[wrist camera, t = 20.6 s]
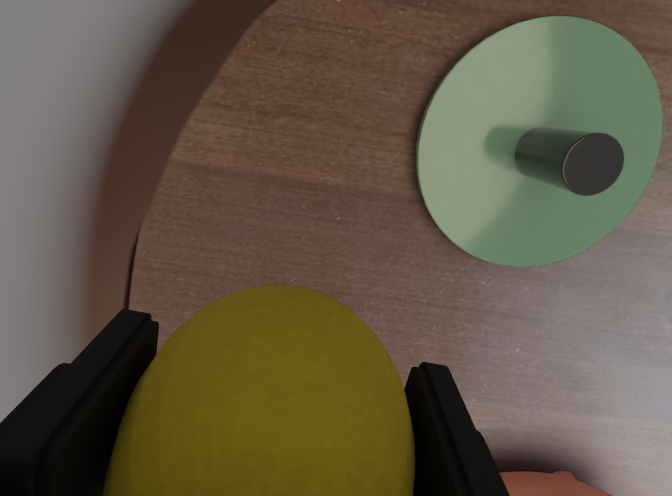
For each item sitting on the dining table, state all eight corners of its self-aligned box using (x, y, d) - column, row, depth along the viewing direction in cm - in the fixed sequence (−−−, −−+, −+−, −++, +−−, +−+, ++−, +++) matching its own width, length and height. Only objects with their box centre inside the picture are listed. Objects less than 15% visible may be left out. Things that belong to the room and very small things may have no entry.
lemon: (360, 216, 11) (431, 461, 4) (400, 386, 13) (501, 779, 6) (161, 265, 12) (-139, 579, 4) (227, 424, 13) (103, 842, 6)
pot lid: (452, -9, 22) (499, -49, 16) (689, 53, 24) (811, 36, 18) (387, 237, 26) (406, 276, 21) (591, 278, 28) (664, 325, 22)
